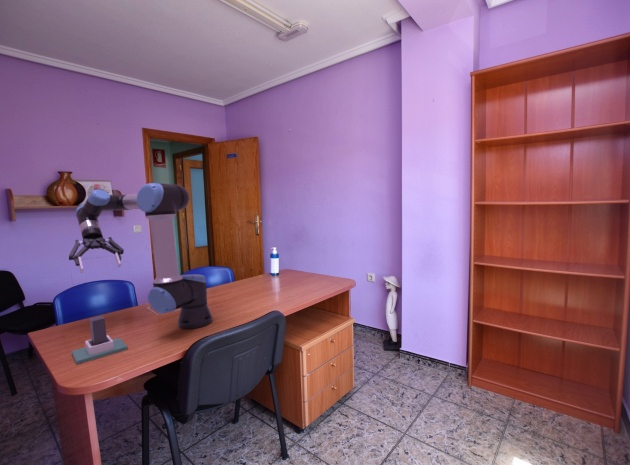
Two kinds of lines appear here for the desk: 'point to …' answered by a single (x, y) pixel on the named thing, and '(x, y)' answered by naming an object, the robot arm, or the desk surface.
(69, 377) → the desk surface
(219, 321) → the desk surface
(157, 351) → the desk surface
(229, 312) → the desk surface
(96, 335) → the block
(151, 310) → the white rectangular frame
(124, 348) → the board
